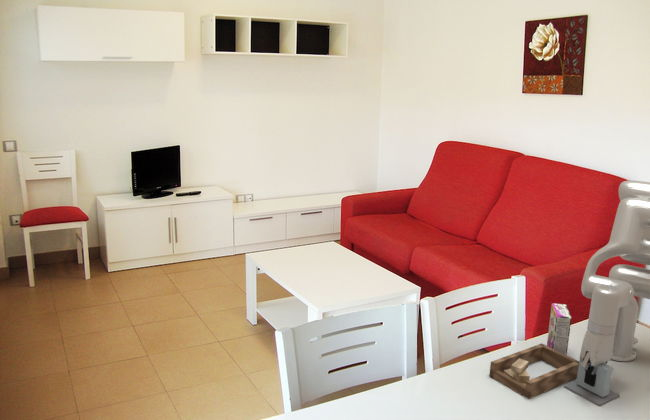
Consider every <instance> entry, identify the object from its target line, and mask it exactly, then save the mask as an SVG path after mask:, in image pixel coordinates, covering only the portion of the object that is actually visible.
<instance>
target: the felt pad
mask: <svg viewBox="0 0 650 420" xmlns="http://www.w3.org/2000/svg"><path fill="white" fill-rule="evenodd" d="M576 381H577V380H575V381H574V380H573V381H572V382H569V383H566V384H565V385H564V387H563V388H564V389H566V390H568V391H570V392H572V393H574V394H576V395H577V396H579V397H581V398H583V399H584V400H587V401H588V402H590V403H592V404H594V405H597V406H598V407H601V406H603V405H605V404H607V403H610V402H612V401H614V400H617V399H618V398H620V394H618V393H617V392H615V391H612V390H611V389H610V390H609V395H607V396H605V397H601V396H599V395H597V394H595V393H593V392H591V391H589V390H587V389H585V388H584V387H582V386H580V385H578V384H576Z"/></svg>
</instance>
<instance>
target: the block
mask: <svg viewBox="0 0 650 420" xmlns="http://www.w3.org/2000/svg"><path fill="white" fill-rule="evenodd" d="M578 361H579V367H578V374H577V378H576V380H575V381H576V384H578V385H580V386H582V387H584V388H585V389H587V390H589V391H591V392H593V393H595V394H597V395H599V396H601V397H605V396H607V395H609V390H611V384H612V383H611V381H612V377H613V372H614V367H613V366H611V365H609V364H608V363H607V364H605V363H602V364H599V365H597V367H596V372H595V374H596V380H595V386H594V387H592V386H590V385H588V384H586V383H585V382H584V379H585V372H586V371H585V369H584V368H581V365H582V363H583V361H580V359H579V360H578ZM589 367H591V368H593V366H591V365H590V366H589Z"/></svg>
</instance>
